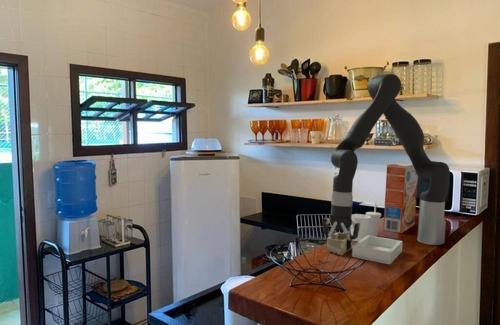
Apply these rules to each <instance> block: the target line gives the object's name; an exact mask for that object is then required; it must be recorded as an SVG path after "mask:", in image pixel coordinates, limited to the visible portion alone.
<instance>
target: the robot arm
mask: <svg viewBox="0 0 500 325" xmlns="http://www.w3.org/2000/svg"><path fill="white" fill-rule="evenodd" d="M401 89H402V81H401V79H400V77H399V76H398V75H397V74H395V73H387V74H386V73H385V74H381V75H375V76H373V77H371V78H370V79H369V80H368V82H367V91H368V94H369V96H370V98H371V99H372V102H371V103H370V104H369V106H368V107H366V109H365V110H364V111H363V112H362V113H361V114H360V115H358V117H356V119H355V120H354V121H353V123H352V125H351V127H350V129H348V132H347V134H346V135H345V137H344V138H343V139H342V141H340V142H339V143H338V145H337V146H336V147H335V148H334V150H333V151H332V153H331V158H330V161H331V164H332V165H333V167H335V168H338V169H339V170H338V174H337V175H335V176H334V177H333V180H332V181H333V182H332V192H331V193H332V194H331V206H330V207H331V209H330V217H324V218H322V230H323V234H324V235H326V236H327V238H329V237H330V236H332V235H334V234H336V231H341V232H343V233H344V234H345V235H346V237H347V239H348V240H347V250H348V251H349V249H350V248H351V247H352V248H353V239H354V240H355V239H356V238H357V237H358V232H359V227H360V223H355V222H353V221H352V214H353V203H354V202H353V186H354V185H353V184H354V182H353V180H354V178H355V175H356V171H357V168H358V163H359V162H358V157H357V156H358V155H357V154H356V152H355V151H356V150H358V149H361V148H362V147H363V146H364V144H365V142H366V141H367V139H368V137H369V135H370V134H371V132H372V130H373V129H374V127H375V125H376V124H377V123H378V121H379V119H380V118H381V117H382V116H384V117H385V119H386V120H387V123H388V124H389V126H390V127H391V129H392V130H393V133H394V135H395V136H396V138H397V139H398V141H399V142H400V144H401V145H402V147H403V150H404V151H405V152H406V154H407V156H408V157H409V160H410V163H412V164H413V167H414V169H415V171H416V173H417V175H418V178H419V180H420V181H421V182H423V183H426V184H429V188H428V190H426V191H422V192H421V193H420V196H419V197H420V198H419V208H418V209H419V212H418V226H417V241H418V242H419V243H421V244H425V245H430V246H440V245H443V244H445V238H446V225H447V224H446V223H447V222H446V219H445V206H446V198H447V195H448V193H449V184H450V179H451V177H450V176H451V174H450V173H451V171H450V167H449V166H448V164H447V163H445V162H442V161H437V160H436V161H435V160H431V159H430V158H429V157H428V155H427V153H426V152H425V151H426V150H424V149H425V148H424V143H425V133H424V132H423V129H422V128H421V125H420V124H419V122H418V120H417V118H415V116H413V115H412V113H410V112H409V111H407V110H406V109H405V108H403V107H402V106H401V105H400V104H399V103H398V102H397V100H396V98H397V97H398V95H399V94H400V92H401ZM330 223H331V225H332V226H331V228H329V224H330ZM351 225H353V228H354V231H353V236H352V234H351ZM352 248H351V249H352ZM351 249H350V250H351Z"/></svg>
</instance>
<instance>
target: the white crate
mask: <svg viewBox="0 0 500 325" xmlns="http://www.w3.org/2000/svg"><path fill="white" fill-rule="evenodd" d="M351 250H352V252H351V257H353V258H357V259H363V260H366V261H371V262H377V263H381V264H385V265H391V264H392V263H393V262H394V261H395V260H396V259H397V258H398V257H399V256H400V254H401V253H402V252H403V240H400V239H399V240H397V239H392V238H386V237H382V236H370V235H367V236H366V237H364V238H363V239H361V240H360V241H359V242H355V243H354V244H352V248H351Z"/></svg>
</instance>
